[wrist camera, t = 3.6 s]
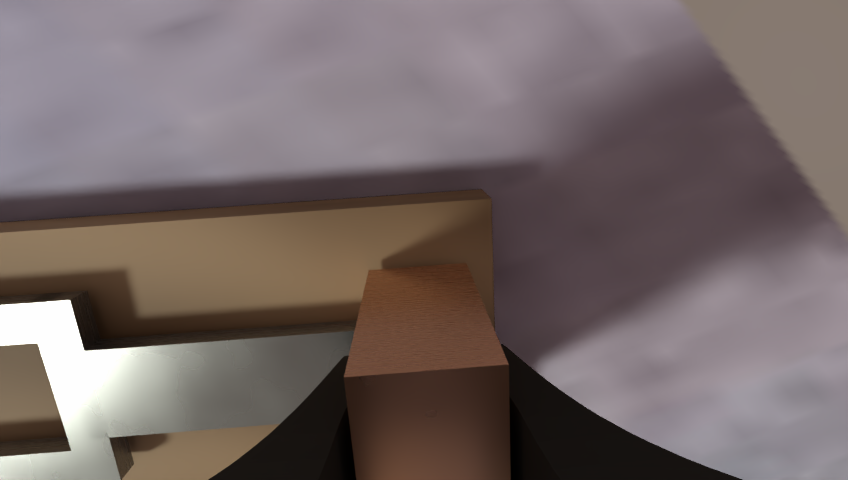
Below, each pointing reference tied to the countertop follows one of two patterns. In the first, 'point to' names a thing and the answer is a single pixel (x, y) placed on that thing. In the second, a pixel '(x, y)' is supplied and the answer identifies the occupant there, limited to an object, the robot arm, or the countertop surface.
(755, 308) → the countertop surface
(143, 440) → the wooden board
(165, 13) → the countertop surface
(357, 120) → the countertop surface
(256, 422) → the forked latch lever
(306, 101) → the countertop surface
